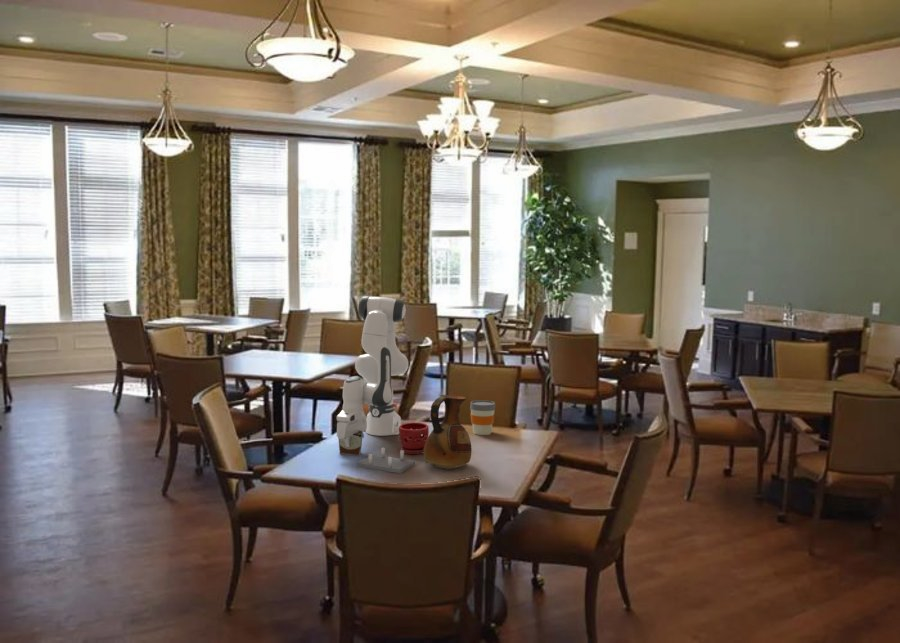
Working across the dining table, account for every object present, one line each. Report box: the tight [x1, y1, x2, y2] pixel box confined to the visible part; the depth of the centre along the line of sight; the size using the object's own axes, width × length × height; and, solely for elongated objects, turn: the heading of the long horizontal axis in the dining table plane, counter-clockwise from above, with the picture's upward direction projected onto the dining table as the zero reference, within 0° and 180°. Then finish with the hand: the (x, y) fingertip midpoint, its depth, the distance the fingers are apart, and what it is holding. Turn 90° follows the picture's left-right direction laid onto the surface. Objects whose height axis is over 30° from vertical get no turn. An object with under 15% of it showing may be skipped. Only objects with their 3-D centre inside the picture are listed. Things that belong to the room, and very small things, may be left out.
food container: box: [337, 430, 365, 456], centre depth 341 cm, size 12×6×10 cm, turn 74°
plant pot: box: [398, 422, 430, 455], centre depth 345 cm, size 13×13×12 cm
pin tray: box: [356, 447, 416, 474], centre depth 323 cm, size 14×20×6 cm
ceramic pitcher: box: [423, 394, 473, 470], centre depth 323 cm, size 20×20×30 cm
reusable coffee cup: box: [469, 399, 496, 436], centre depth 382 cm, size 13×13×15 cm
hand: (352, 444), depth 341 cm, fingers closed on food container, 6 cm apart
